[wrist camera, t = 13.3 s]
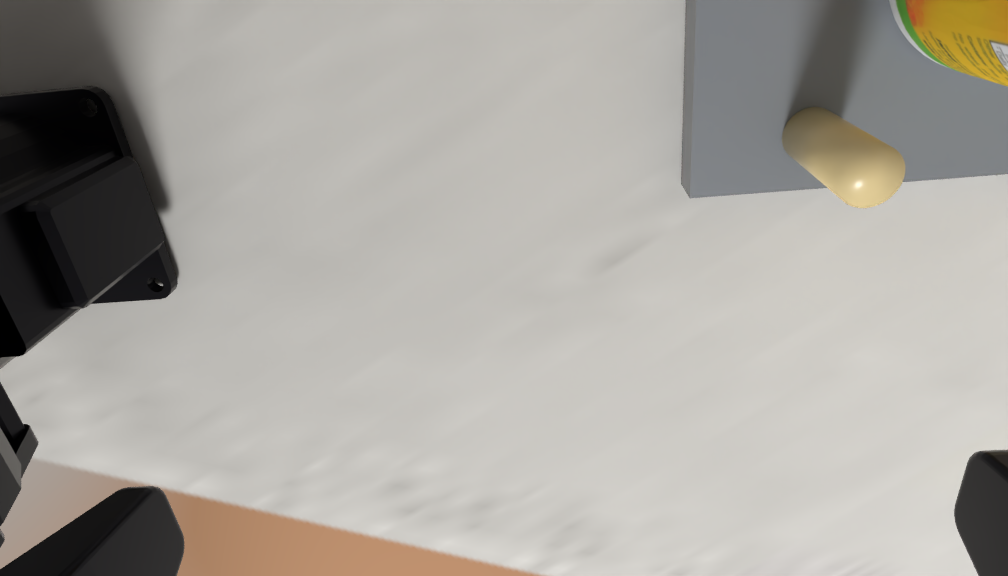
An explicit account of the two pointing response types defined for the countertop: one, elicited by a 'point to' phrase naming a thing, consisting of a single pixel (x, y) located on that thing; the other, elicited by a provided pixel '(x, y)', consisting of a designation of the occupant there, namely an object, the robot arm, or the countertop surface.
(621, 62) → the countertop surface
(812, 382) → the countertop surface
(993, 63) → the supplement bottle
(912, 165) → the plate
